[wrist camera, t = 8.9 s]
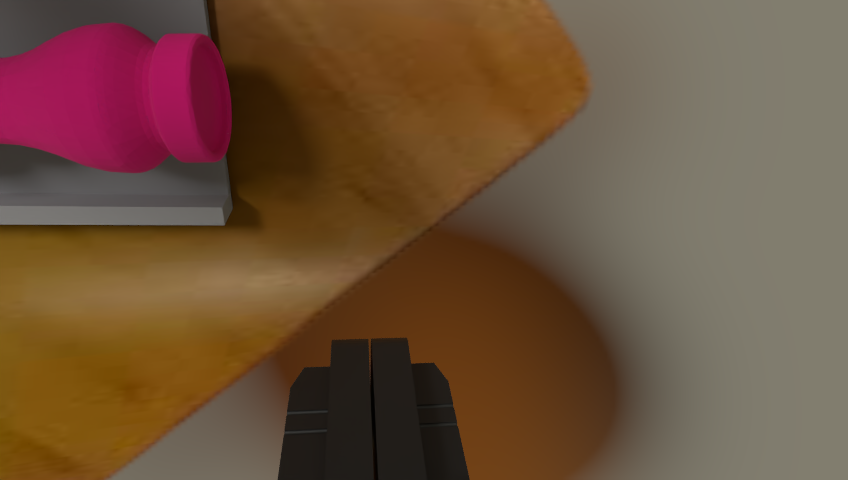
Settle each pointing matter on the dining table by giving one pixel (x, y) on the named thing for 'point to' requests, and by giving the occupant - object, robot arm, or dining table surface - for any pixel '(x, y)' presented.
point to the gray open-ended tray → (89, 187)
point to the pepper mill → (118, 98)
